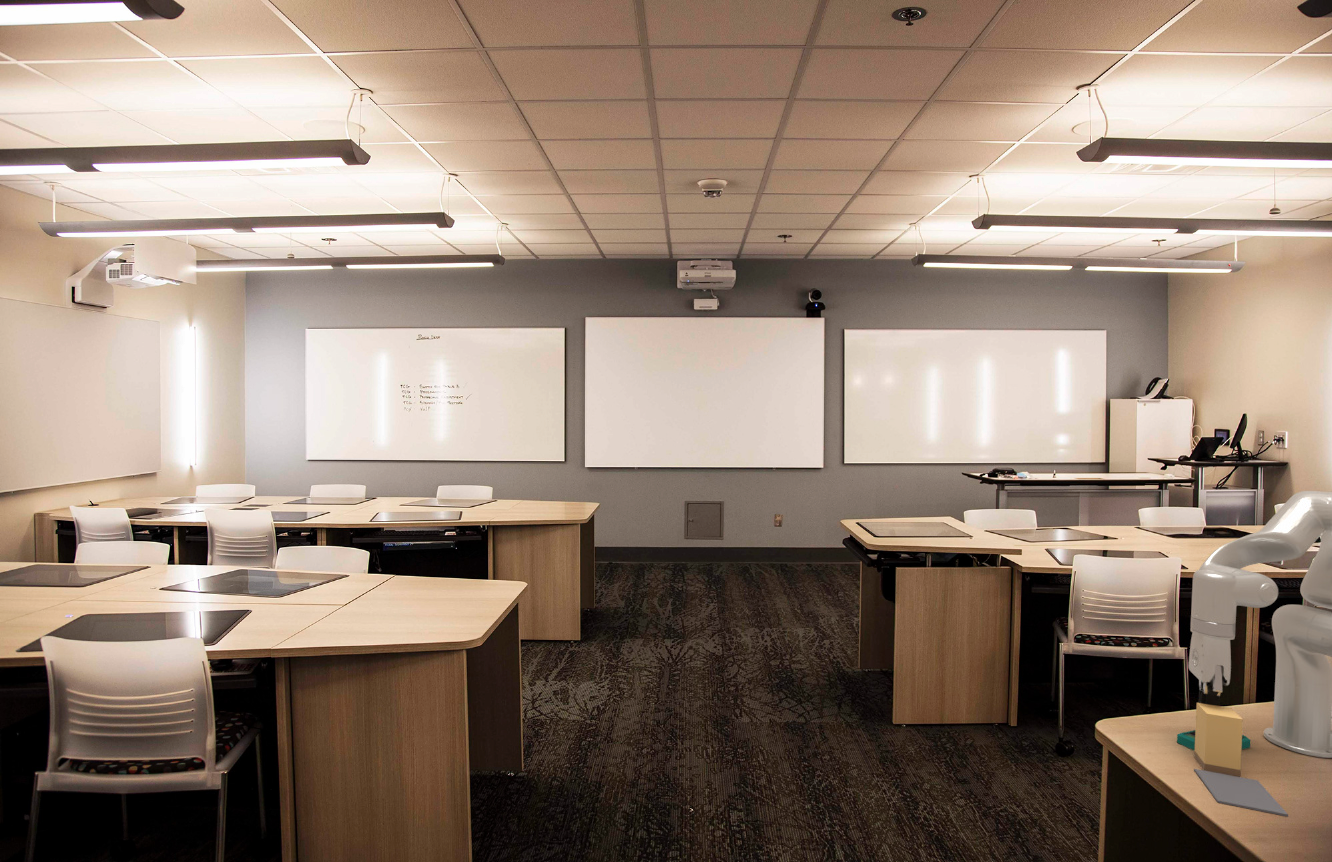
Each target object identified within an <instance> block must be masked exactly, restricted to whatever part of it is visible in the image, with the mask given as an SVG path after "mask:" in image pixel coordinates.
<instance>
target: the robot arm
mask: <svg viewBox="0 0 1332 862" xmlns="http://www.w3.org/2000/svg"><path fill="white" fill-rule="evenodd" d="M1318 539H1320V544H1319V545H1320V546H1319V549H1318V551H1317V552H1316V555H1315V557H1314V558H1313V560H1312V562H1311V564H1310V566H1309V568H1308V570H1307V571H1306V574H1305V575H1304V578H1303V579H1302V582H1301V584H1300V588H1299V589H1300V590H1299V591H1300V594H1301V596H1302V598H1303V599H1304V600H1305V601H1307V603H1310V604H1312V605H1315V606H1318V607H1321V608H1325V609H1329V610H1325V609H1320V608H1317V607H1316V608H1315V607H1311V606H1308V605H1302V604H1286V605H1282V606H1280V607H1279V608H1277V609H1276V610H1275V611H1274V612H1273V615H1272V618H1271V629H1272V632H1273V639H1274V643H1275V680H1274V681H1275V682H1274V698H1273V699H1274V701H1273V703H1274V705H1273V726H1272V727H1266V728H1265V729H1264V730H1263V736H1264V737H1265V738H1266V740H1267V741H1269V742H1271V743H1272V744H1274V745H1277V746H1279V747H1281V748H1283V749H1285V750H1289V751H1291V752H1295V753H1298V754H1302V755H1306V756H1309V757H1317V758H1325V759H1327V758H1328V759H1329V758H1331V759H1332V665H1331V663H1330V661H1329V659H1328V658H1327V656H1328V657H1331V658H1332V612H1331V611H1330V610H1332V491H1319V490H1303V491H1298V492H1296V493H1294V494H1293V495H1292V496H1291V497H1289V499H1287V501H1285V503H1284V504H1283V505H1282V506H1281V507H1280V509H1278V510H1277V512H1276V513H1275V514H1274V515H1273V516H1272V517H1271V518H1270V519H1269V520H1268V521H1267V522H1266V524H1265V525H1264V526H1263V527H1262V528H1261V529H1260V530H1259V531H1256V532H1254V533H1250V534H1247V535H1245V536H1242V537H1240V538H1237V539H1234V540H1232V541H1229V542H1227V543H1224V544H1223V545H1220V547H1218V548H1217V549H1215V550H1214V551H1213V552H1212V553H1211V554H1210V555H1209V556H1208V557H1207V558H1206V560H1204V562H1203V563H1202V564H1201V566H1200V567H1199V569H1197V570H1195V572H1194V573H1193V574H1192V576H1193V577H1192V590H1191V615H1190V629H1189V630H1190V632H1191V633H1192V634H1191V639H1190V644H1189V645H1190V646H1189V648H1190V649H1189V656H1188V670H1189V671H1190V673H1192V674H1193V676H1195V677H1196V679H1198V688H1199V691H1198V703H1202V704H1208V705H1215V706H1220V699H1221V693H1223V686H1225V687H1227V686H1229V685H1230V682H1231V671H1232V670H1231V669H1232V659H1231V658H1232V656H1231V653H1232V652H1231V651H1232V650H1231V640H1235V637H1236V622H1237V620H1236V619H1237V618H1236V617H1237V606H1241V607H1248V608H1257V609H1258V608H1266V607H1268V606H1271V605H1272V604H1273V603H1275V602H1276V600H1277V599H1278V596H1279V587H1278V585H1277V584H1276V582H1275V581H1274V580H1273V579H1272V578H1270V577H1269V576H1267V575H1266V574H1265V575H1264V574H1262V573H1259V572H1255V571H1250V570H1246V569H1244V568H1245V567H1249V566H1252V565H1257V564H1264V563H1276V562H1284V561H1290V560H1295V559H1299V558H1301V557H1302V556H1304V555H1305V554H1306V553H1307V552H1308V550H1309V549H1310V548H1311V547H1312V546H1313V544H1314V543H1315V542H1316V541H1317V540H1318Z"/></svg>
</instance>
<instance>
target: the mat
mask: <svg viewBox="0 0 1332 862" xmlns="http://www.w3.org/2000/svg"><path fill="white" fill-rule="evenodd" d="M1193 772H1195V773H1196V775H1197V776H1198V777H1199V779H1200V780H1201V782H1202V783H1203V784H1204V786H1205V787H1206V789H1207V790H1208V791H1209V793H1210V794H1211V796H1212V797H1213V798H1214V800H1215V801H1216V802H1217V803H1218V804H1222V805H1223V804H1224V805H1227V806H1228V805H1229V806H1233V807H1237V808H1238V807H1239V808H1243V809H1247V810H1253V811H1258V812H1264V813H1267V814H1272V815H1279V816H1282V817H1287V818H1288V817H1289V814H1288V813H1287V811H1286V810H1285V809H1284V808H1283V807H1282V806H1281V805H1280V804H1279V802H1277V800H1276V799H1275V798H1274V797H1273V796H1272V795H1271V793H1270V792H1269V791H1268V790H1267V789H1266V788H1265V787H1264V786H1263V784H1262V783H1260V781H1259V780H1257V779H1253V778H1246V777H1241V776H1240V777H1237V776H1231V775H1226V774H1221V773H1215V772H1210V771H1205V770H1203V769H1200V768H1199V769H1198V768H1194V769H1193Z"/></svg>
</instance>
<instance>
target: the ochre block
mask: <svg viewBox="0 0 1332 862" xmlns="http://www.w3.org/2000/svg"><path fill="white" fill-rule="evenodd" d="M1195 714H1196V715H1195V730H1196V731H1195V751H1194V759H1195V760H1196V762H1197V763H1198V764H1199V766H1200V767H1201V768H1202V770H1205V771H1210V772H1215V773H1221V774H1226V775H1231V776H1237V777H1241V768H1242V750H1241V748H1242V735H1243V724H1244V723H1243V721H1244V719H1243V718H1242V717H1241V716H1240V715H1239V714H1238V713H1237V712H1236V711H1235V710H1234V709H1233V708H1232V707H1227V706H1226V707H1225V706H1220V705H1219V706H1215V705H1208V704H1202V703H1199V702H1196V713H1195Z"/></svg>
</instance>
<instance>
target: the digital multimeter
mask: <svg viewBox="0 0 1332 862" xmlns="http://www.w3.org/2000/svg"><path fill="white" fill-rule="evenodd" d="M1195 731H1196V729H1194V730H1188V731H1184V732H1181V733H1178V734H1176V742H1177V744H1179V745H1181V746H1183V747H1185V748H1186V749H1189V750H1192V751H1194V752H1195ZM1250 748H1251V739H1250V738H1249V737H1247V736H1246V735H1244V734H1242V748H1241V751H1242V750H1245V749H1246V750H1247V749H1250Z"/></svg>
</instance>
